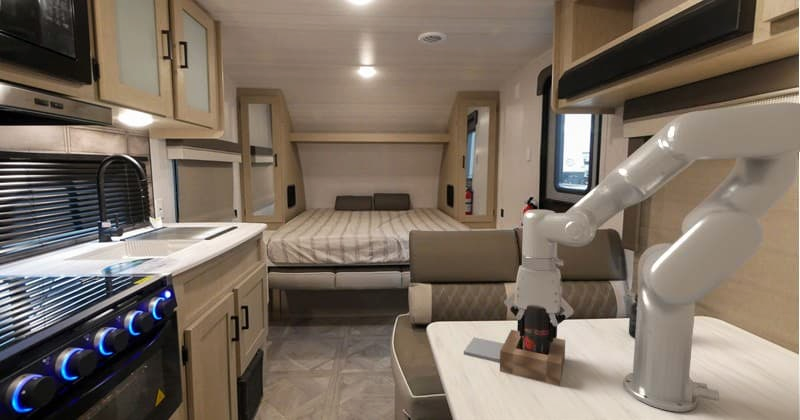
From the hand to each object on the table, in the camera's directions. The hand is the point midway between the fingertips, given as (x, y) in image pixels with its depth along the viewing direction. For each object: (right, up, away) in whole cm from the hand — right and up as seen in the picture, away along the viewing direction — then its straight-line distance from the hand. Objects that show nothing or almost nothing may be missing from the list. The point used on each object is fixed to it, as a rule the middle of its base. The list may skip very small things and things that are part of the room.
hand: (536, 336), depth 88 cm
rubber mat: (-10, -6, +8) cm, 15 cm away
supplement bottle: (+36, -6, +16) cm, 39 cm away
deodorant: (0, -7, +1) cm, 7 cm away
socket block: (0, -7, +1) cm, 7 cm away
